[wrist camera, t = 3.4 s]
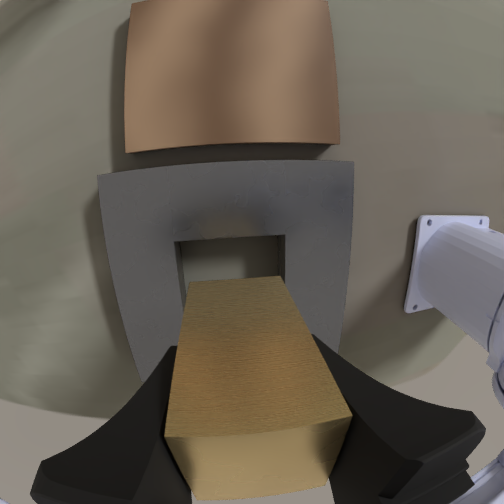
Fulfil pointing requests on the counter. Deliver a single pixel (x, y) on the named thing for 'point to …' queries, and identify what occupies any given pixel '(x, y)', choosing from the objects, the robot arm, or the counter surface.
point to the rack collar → (226, 226)
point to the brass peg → (251, 394)
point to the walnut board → (229, 74)
